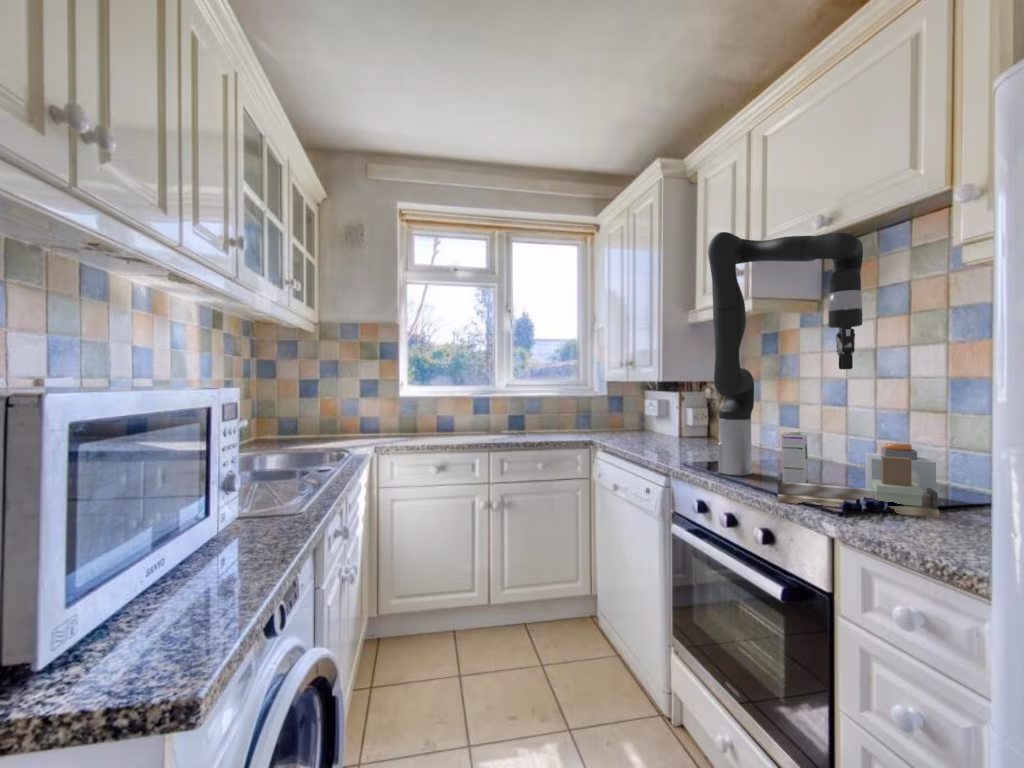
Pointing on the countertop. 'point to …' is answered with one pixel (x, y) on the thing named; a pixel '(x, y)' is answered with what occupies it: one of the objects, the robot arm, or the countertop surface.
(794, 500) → the rail base
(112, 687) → the countertop surface
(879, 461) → the gauge cabinet
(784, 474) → the syrup box
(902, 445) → the button
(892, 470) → the brown block on pedestal
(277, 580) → the countertop surface
